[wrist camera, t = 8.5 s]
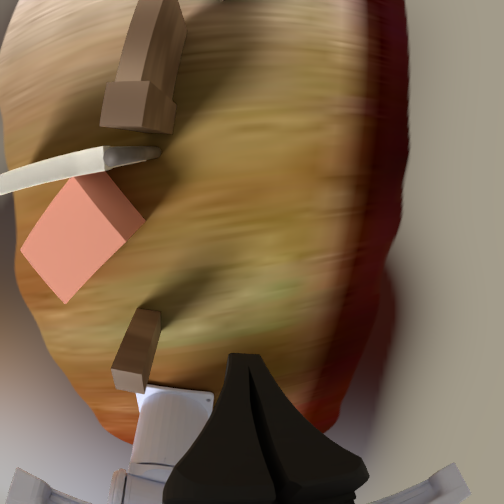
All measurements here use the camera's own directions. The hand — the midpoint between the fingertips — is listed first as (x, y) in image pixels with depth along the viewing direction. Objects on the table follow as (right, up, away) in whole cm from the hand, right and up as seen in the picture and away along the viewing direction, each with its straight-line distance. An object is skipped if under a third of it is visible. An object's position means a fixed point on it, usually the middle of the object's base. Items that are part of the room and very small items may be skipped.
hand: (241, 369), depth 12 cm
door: (-12, +11, +4) cm, 17 cm away
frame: (-6, +9, +6) cm, 13 cm away
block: (-11, +7, +6) cm, 15 cm away
